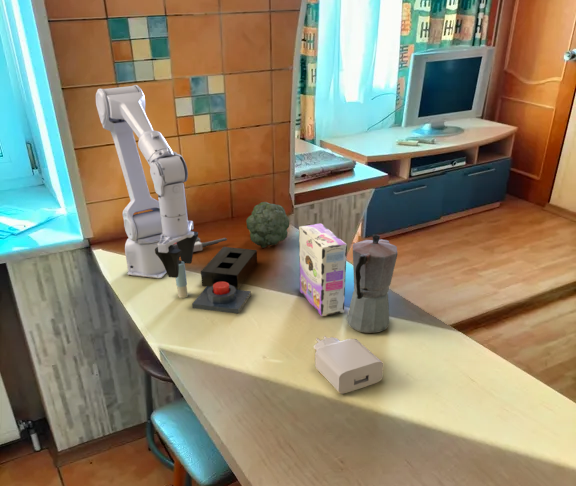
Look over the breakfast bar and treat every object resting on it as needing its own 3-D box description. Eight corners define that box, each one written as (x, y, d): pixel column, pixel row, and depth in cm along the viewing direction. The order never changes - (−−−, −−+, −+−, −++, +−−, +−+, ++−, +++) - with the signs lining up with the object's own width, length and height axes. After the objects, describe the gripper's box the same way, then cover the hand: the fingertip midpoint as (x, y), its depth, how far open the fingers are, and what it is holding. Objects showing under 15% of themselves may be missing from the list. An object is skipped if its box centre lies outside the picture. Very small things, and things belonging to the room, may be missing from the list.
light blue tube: (176, 297, 138) (171, 262, 133) (180, 293, 140) (176, 258, 135) (185, 299, 137) (181, 263, 133) (189, 294, 139) (186, 259, 135)
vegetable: (279, 220, 174) (304, 212, 161) (263, 259, 172) (286, 254, 158) (245, 200, 169) (267, 189, 156) (227, 239, 167) (249, 232, 153)
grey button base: (192, 308, 133) (191, 296, 132) (207, 290, 141) (206, 279, 139) (238, 314, 131) (237, 302, 129) (251, 295, 138) (250, 284, 137)
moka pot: (399, 313, 130) (407, 227, 120) (378, 347, 118) (385, 256, 108) (358, 304, 133) (363, 221, 123) (334, 337, 121) (336, 248, 111)
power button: (211, 294, 133) (210, 287, 132) (217, 287, 136) (216, 280, 135) (226, 296, 132) (225, 289, 132) (231, 289, 135) (231, 282, 134)
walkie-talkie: (161, 261, 155) (228, 245, 164) (159, 246, 153) (227, 230, 162) (149, 250, 162) (214, 235, 171) (147, 235, 160) (213, 220, 169)
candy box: (345, 313, 130) (348, 243, 122) (320, 317, 129) (322, 247, 120) (321, 286, 142) (322, 221, 133) (298, 290, 140) (298, 225, 132)
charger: (340, 342, 120) (382, 381, 108) (300, 354, 116) (338, 395, 105) (341, 322, 117) (383, 360, 106) (299, 333, 114) (339, 373, 102)
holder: (202, 286, 143) (200, 271, 141) (224, 260, 155) (223, 246, 153) (238, 290, 140) (237, 275, 138) (257, 264, 153) (256, 249, 151)
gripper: (176, 226, 121) (183, 285, 128) (203, 203, 133) (208, 258, 140) (145, 223, 123) (153, 281, 130) (174, 201, 135) (180, 255, 142)
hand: (180, 269), depth 135 cm, fingers open, 7 cm apart
